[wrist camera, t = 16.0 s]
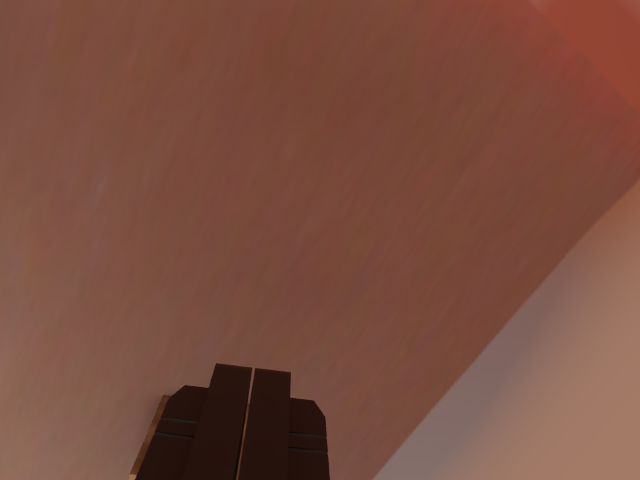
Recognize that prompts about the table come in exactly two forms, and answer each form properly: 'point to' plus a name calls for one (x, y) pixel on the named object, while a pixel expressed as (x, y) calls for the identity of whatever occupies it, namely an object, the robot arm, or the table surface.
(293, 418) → the robot arm
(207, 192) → the table surface
